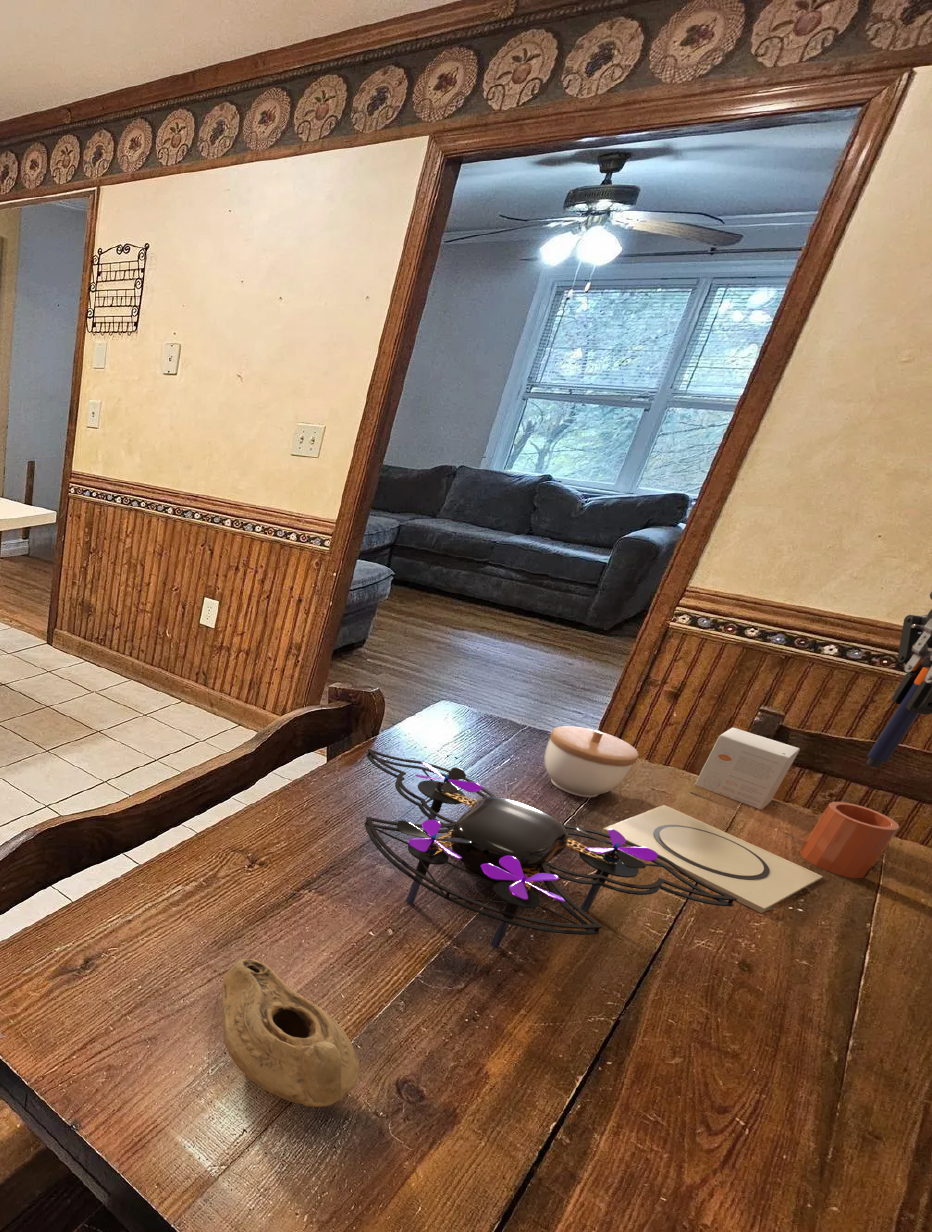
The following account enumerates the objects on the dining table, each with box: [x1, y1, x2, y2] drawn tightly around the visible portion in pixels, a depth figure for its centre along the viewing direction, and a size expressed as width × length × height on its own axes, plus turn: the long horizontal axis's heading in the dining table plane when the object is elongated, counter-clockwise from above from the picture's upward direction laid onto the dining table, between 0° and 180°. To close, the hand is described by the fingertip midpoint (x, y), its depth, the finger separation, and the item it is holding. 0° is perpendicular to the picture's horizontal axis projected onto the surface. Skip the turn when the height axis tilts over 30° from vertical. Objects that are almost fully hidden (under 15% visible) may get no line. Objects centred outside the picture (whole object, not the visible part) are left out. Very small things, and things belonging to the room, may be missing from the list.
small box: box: [689, 727, 800, 810], centre depth 115 cm, size 8×6×10 cm
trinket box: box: [543, 725, 640, 798], centre depth 117 cm, size 11×11×9 cm
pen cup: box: [799, 801, 900, 879], centre depth 102 cm, size 6×6×8 cm
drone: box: [364, 748, 737, 949], centre depth 91 cm, size 40×10×28 cm
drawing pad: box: [601, 804, 824, 914], centre depth 104 cm, size 16×18×1 cm
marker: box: [866, 667, 931, 769], centre depth 95 cm, size 2×2×13 cm
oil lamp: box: [221, 958, 360, 1108], centre depth 69 cm, size 11×15×8 cm
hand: (910, 707), depth 94 cm, fingers closed on marker, 2 cm apart
